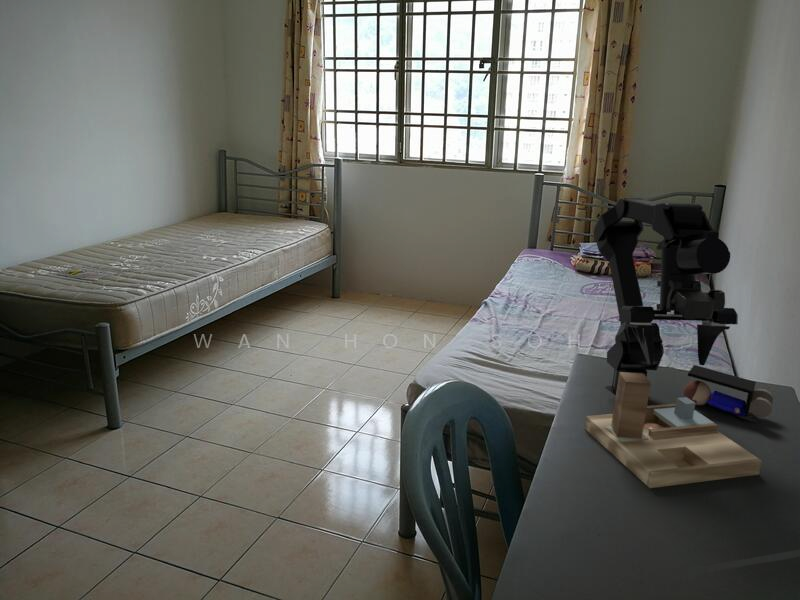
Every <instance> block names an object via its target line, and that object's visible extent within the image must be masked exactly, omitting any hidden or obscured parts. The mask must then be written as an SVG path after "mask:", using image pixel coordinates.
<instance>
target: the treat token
mask: <svg viewBox="0 0 800 600" xmlns="http://www.w3.org/2000/svg"><path fill="white" fill-rule="evenodd" d="M644 427H645V428H646V429H647V430H649V429H659V428H664V427H662V426H661V425H658V424H654V423H647V424H645V425H644Z"/></svg>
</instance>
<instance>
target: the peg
mask: <svg viewBox="0 0 800 600" xmlns="http://www.w3.org/2000/svg"><path fill="white" fill-rule="evenodd" d="M651 385H652V384H651V381H650V380H649V379H648V376H647V377H646V376H645V375H644V374H643V373H628V372H619V378H618V384H617V391H616V395H615V396H614V397H615V398H614V405H613V411H612V412H613V413H612V414H613V417H612V424H611V426H612V428H613V430H614V432H615V434H616V436H617V437H623V438H637V439H642V433H643V427H644V421H645V415H646V409H647V406H648V401H649V398H648V397H650V391H651Z"/></svg>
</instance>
